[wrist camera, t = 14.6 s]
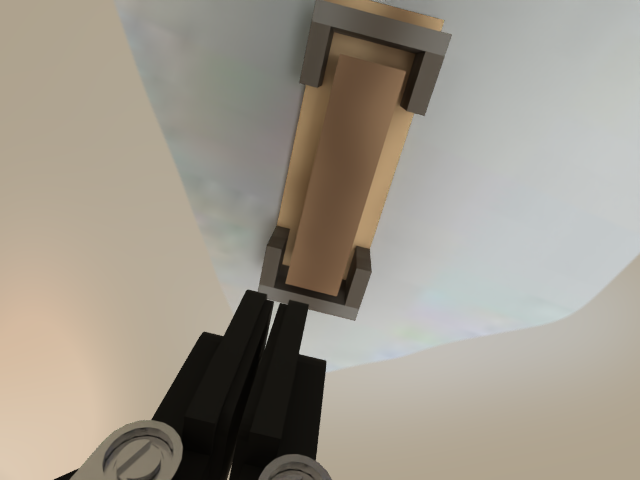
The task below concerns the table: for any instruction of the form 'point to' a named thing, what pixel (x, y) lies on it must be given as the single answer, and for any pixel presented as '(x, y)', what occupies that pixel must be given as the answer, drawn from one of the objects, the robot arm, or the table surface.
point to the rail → (318, 75)
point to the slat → (343, 171)
